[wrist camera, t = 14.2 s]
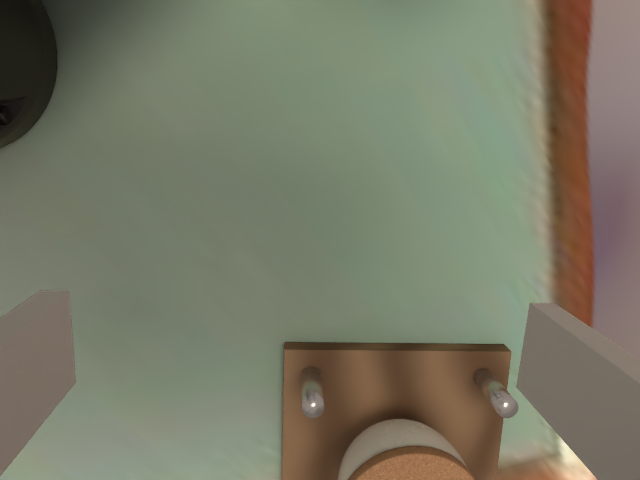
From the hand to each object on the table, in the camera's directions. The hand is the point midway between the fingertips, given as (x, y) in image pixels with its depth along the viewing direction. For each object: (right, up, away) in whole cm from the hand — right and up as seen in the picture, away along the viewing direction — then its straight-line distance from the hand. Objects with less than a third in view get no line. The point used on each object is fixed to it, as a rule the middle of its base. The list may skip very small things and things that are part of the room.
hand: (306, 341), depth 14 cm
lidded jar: (+7, -15, +28) cm, 33 cm away
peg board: (+7, -15, +30) cm, 34 cm away
